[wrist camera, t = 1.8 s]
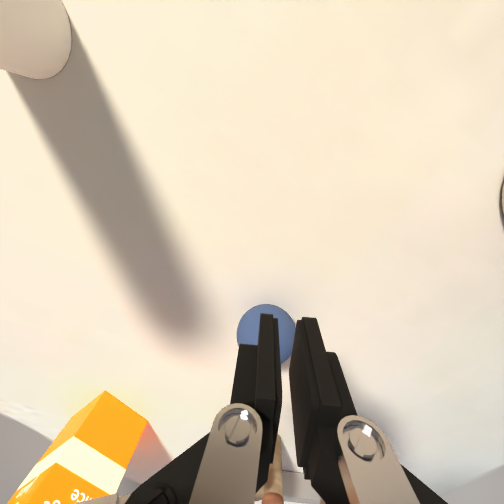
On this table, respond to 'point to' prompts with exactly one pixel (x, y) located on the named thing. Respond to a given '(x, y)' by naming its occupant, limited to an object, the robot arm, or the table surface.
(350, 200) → the table surface
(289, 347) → the ball
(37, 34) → the cylindrical container
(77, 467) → the orange juice
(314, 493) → the rail
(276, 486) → the pin
